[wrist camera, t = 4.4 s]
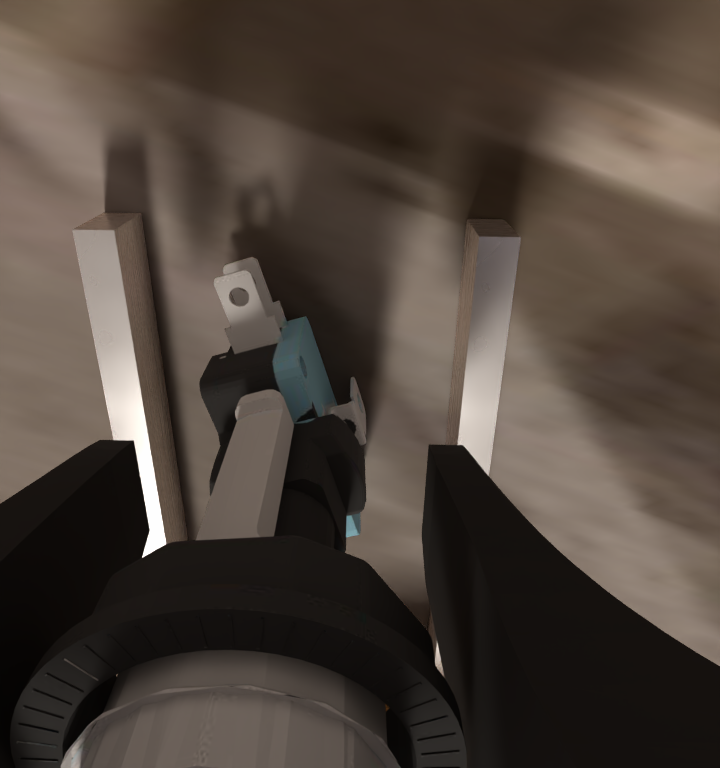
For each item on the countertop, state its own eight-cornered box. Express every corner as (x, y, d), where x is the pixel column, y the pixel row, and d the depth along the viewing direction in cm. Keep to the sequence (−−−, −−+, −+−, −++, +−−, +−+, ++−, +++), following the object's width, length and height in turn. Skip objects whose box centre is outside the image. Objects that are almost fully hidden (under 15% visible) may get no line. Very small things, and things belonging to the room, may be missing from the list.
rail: (504, 219, 13) (575, 294, 9) (444, 712, 21) (466, 889, 16) (103, 212, 13) (-30, 284, 9) (188, 708, 21) (140, 884, 16)
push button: (135, 284, 14) (-263, 664, 5) (362, 219, 13) (371, 523, 4) (240, 510, 17) (107, 1007, 8) (430, 466, 16) (519, 952, 7)
